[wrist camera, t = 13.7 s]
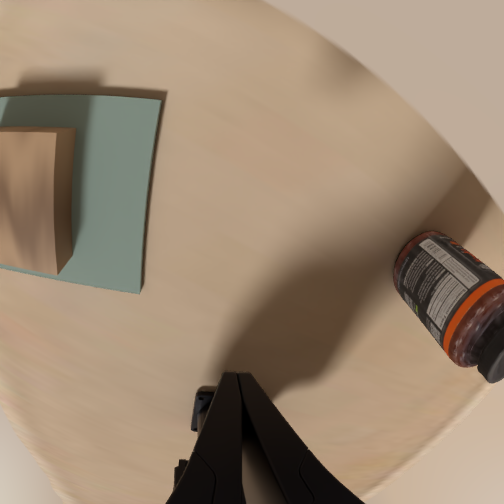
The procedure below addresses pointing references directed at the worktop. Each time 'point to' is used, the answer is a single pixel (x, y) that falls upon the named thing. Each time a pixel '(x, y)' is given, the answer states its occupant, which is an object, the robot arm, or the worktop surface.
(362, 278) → the worktop surface
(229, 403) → the robot arm
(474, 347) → the supplement bottle
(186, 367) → the worktop surface
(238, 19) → the worktop surface
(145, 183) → the mat
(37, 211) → the slab
